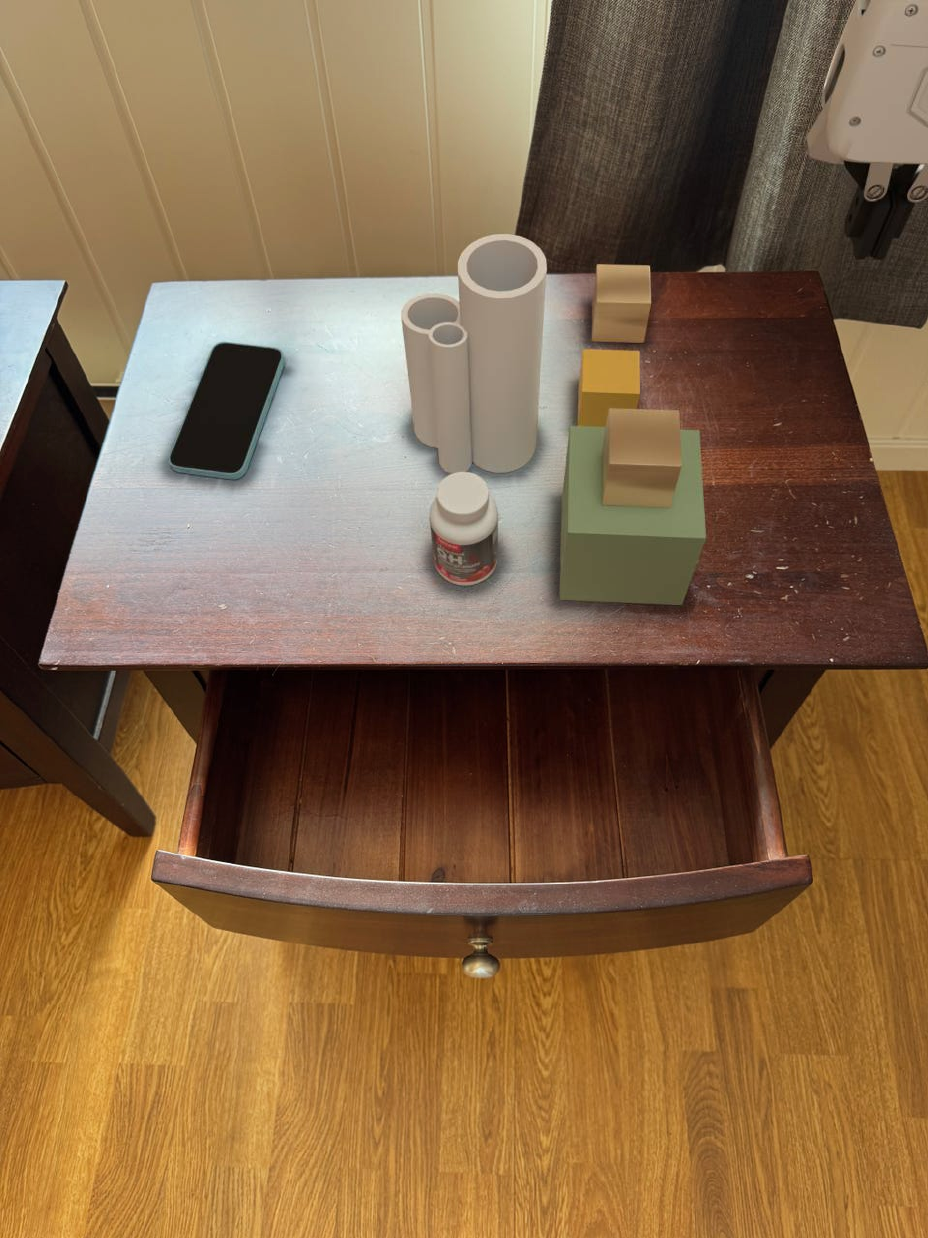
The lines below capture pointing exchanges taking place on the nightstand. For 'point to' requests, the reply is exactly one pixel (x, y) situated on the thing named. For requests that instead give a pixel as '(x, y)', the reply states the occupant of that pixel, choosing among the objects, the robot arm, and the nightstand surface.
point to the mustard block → (607, 384)
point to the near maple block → (641, 457)
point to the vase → (480, 357)
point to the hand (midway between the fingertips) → (865, 243)
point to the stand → (628, 530)
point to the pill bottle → (464, 529)
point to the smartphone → (227, 411)
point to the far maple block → (621, 303)
